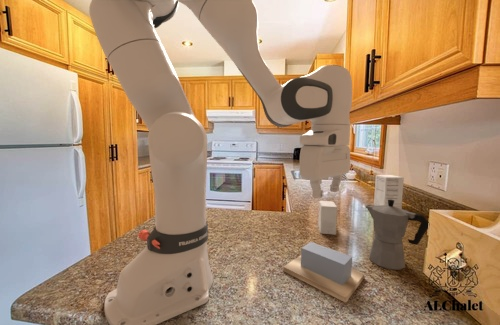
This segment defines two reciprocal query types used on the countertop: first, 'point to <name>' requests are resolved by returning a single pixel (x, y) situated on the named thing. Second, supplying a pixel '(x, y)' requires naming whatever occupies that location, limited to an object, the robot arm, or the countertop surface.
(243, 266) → the countertop surface
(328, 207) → the small box
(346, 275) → the slate block
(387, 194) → the supplement box
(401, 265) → the coffeepot
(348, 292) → the beech board
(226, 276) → the countertop surface
